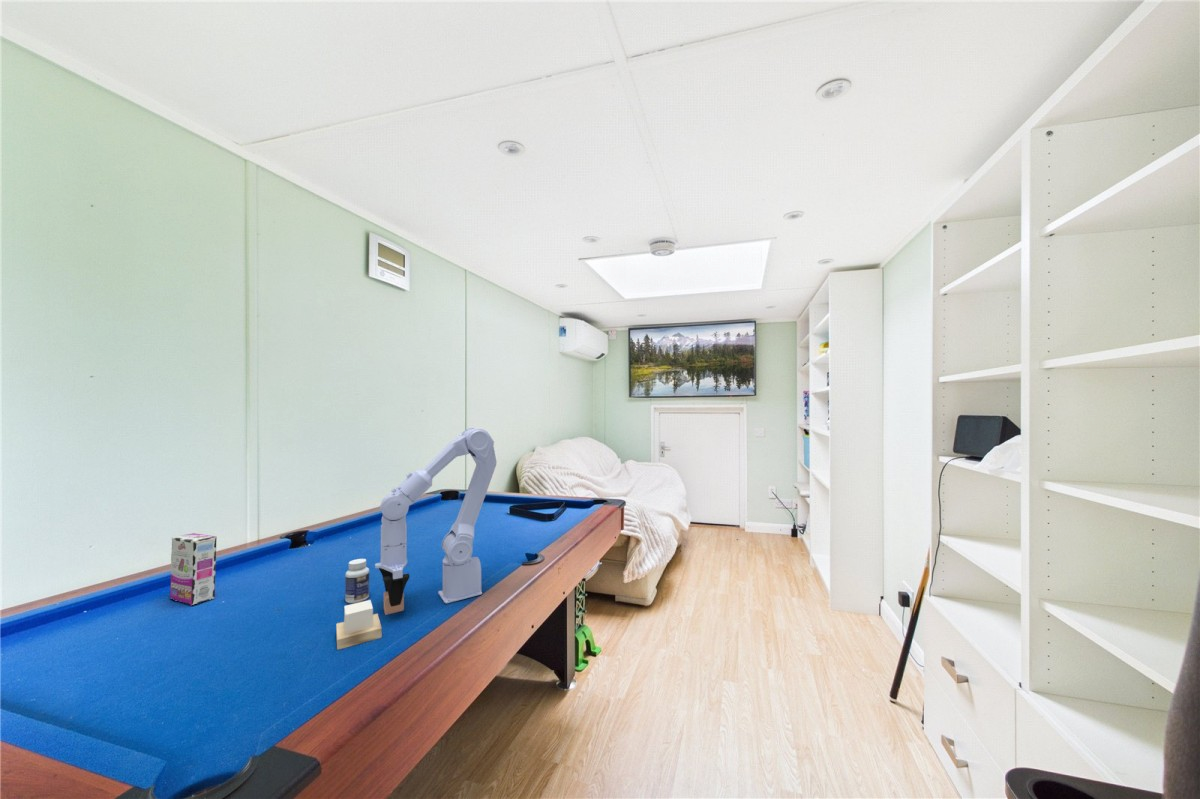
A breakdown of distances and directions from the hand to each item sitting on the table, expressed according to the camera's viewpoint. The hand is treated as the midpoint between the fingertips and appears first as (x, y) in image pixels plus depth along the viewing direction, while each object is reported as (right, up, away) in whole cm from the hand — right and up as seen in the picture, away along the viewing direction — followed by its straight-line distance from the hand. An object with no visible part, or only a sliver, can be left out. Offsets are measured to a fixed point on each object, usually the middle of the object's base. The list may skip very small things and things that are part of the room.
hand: (393, 599), depth 101 cm
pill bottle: (-12, -3, +6) cm, 14 cm away
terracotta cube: (0, -3, 0) cm, 3 cm away
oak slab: (-2, -2, -12) cm, 12 cm away
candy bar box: (-57, -4, +7) cm, 57 cm away
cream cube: (-2, 0, -12) cm, 12 cm away
